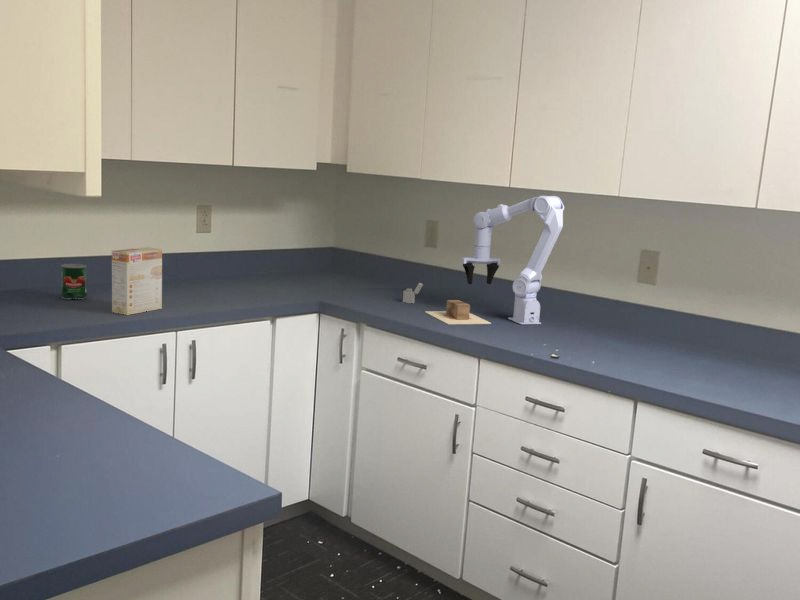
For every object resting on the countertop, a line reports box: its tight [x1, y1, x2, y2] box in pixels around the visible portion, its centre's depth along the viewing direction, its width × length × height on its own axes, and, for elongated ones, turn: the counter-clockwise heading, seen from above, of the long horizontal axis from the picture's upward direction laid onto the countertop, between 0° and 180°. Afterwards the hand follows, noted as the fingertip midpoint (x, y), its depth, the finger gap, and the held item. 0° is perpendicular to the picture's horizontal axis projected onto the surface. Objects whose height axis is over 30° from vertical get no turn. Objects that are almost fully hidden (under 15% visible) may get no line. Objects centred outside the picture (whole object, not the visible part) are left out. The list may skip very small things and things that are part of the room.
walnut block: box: [445, 299, 471, 320], centre depth 275 cm, size 9×4×5 cm, turn 21°
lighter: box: [402, 282, 424, 304], centre depth 298 cm, size 7×2×8 cm, turn 68°
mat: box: [424, 310, 492, 325], centre depth 276 cm, size 20×16×1 cm
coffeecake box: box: [111, 246, 163, 316], centre depth 253 cm, size 15×7×20 cm, turn 152°
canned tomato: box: [60, 263, 88, 299], centre depth 267 cm, size 8×8×11 cm
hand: (479, 283), depth 287 cm, fingers open, 7 cm apart
